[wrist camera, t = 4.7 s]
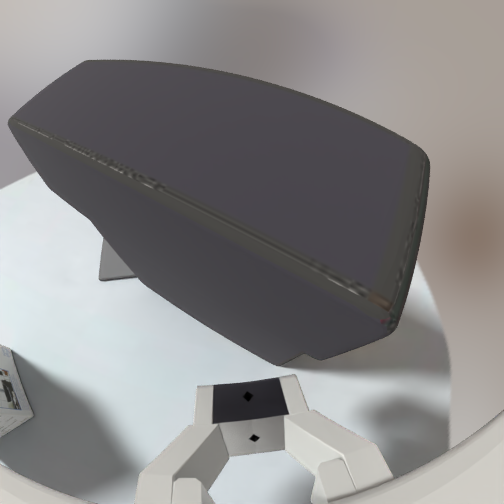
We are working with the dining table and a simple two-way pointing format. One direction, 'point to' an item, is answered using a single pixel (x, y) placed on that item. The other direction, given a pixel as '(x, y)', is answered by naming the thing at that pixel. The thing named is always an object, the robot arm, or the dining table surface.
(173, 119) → the dark grey lidded case
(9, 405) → the light bulb box
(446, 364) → the dining table surface
